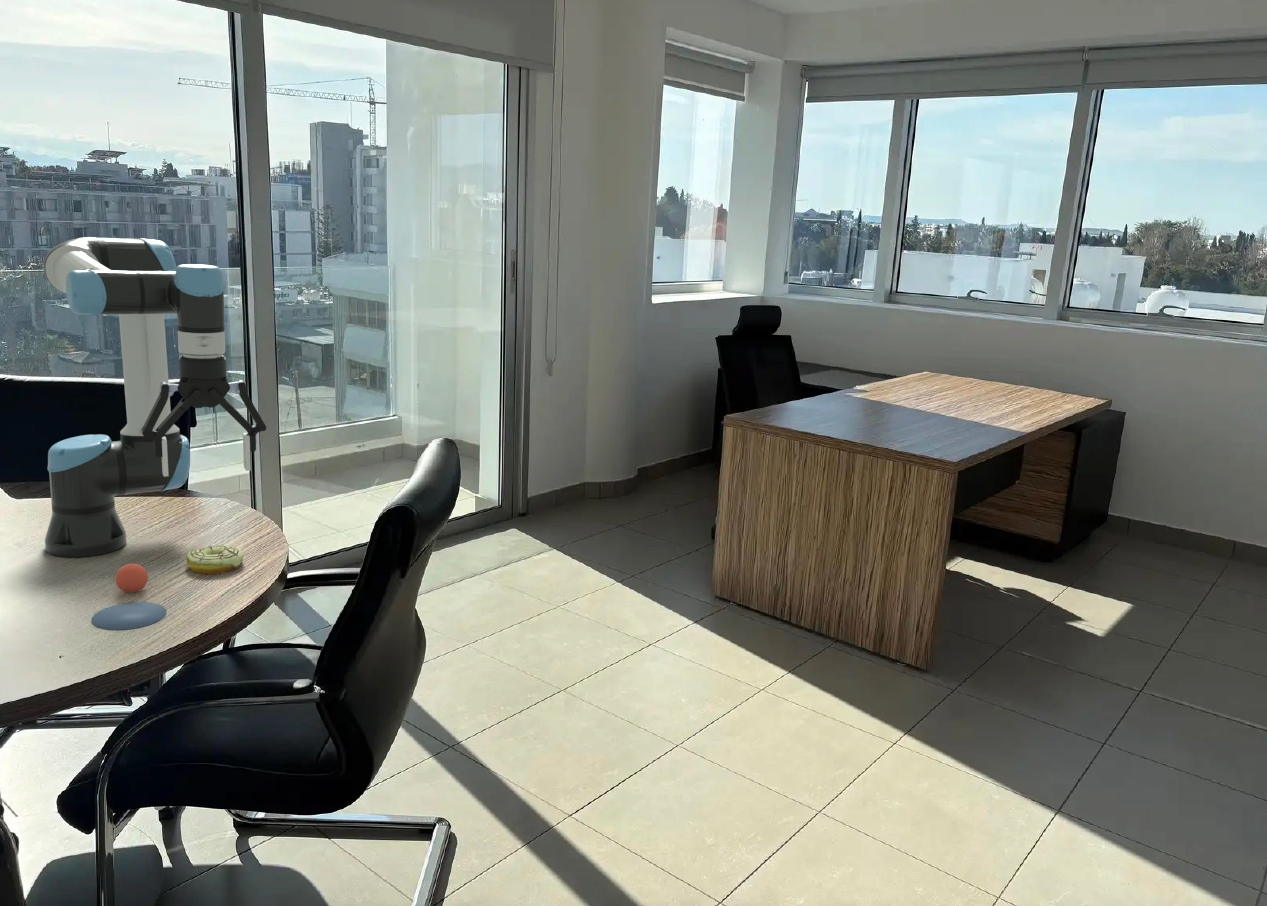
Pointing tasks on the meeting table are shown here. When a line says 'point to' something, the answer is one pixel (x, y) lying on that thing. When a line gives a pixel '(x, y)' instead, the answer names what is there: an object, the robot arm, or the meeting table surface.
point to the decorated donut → (214, 559)
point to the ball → (131, 578)
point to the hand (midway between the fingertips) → (207, 471)
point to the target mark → (128, 615)
